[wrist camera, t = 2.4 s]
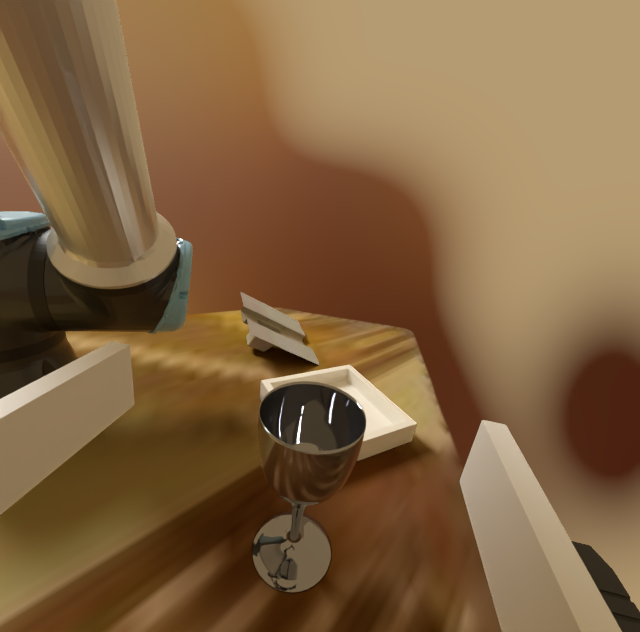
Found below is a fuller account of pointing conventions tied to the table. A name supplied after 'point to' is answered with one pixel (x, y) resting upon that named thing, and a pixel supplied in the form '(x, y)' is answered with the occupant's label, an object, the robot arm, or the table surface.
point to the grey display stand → (273, 329)
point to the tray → (381, 413)
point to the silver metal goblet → (303, 476)
